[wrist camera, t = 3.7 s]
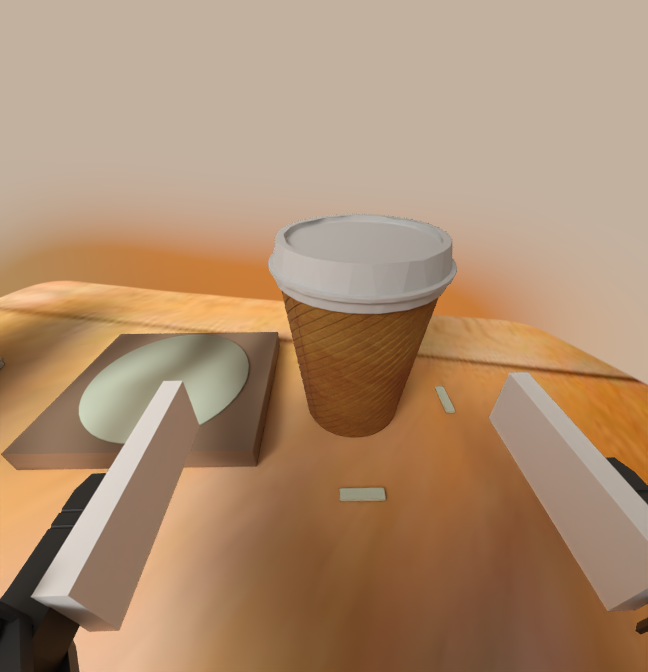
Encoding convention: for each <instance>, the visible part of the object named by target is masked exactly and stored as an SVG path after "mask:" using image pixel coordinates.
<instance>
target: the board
mask: <svg viewBox="0 0 648 672" xmlns="http://www.w3.org/2000/svg"><path fill="white" fill-rule="evenodd" d="M278 351H279V337H278V332H252V333H176V334H121V335H120V336H119V337H118V338H117V339H116V340H115V341H114V342H113V343H112V344H111V345H110V346H109V347H108V348H107V349H106V350H105V351H104V352H103V353H102V354H101V355H100V356H99V357H98V358H97V359H96V360H95V361H94V362H93V363H92V364H91V365H90V366H89V367H88V368H87V369H86V370H85V371H84V372H83V373H82V374H81V375H80V376H79V377H78V378H77V379H76V380H75V381H74V382H73V383H72V384H71V385H70V386H69V387H68V388H67V389H66V390H65V391H64V392H63V393H62V394H61V395H60V396H59V397H58V398H57V399H56V400H55V401H54V402H53V403H52V404H51V405H50V406H49V407H48V408H47V409H46V410H45V411H44V412H43V413H42V414H41V415H40V416H39V417H38V418H37V419H36V420H35V421H34V422H33V423H32V424H31V425H30V426H29V427H28V428H27V429H26V430H25V431H24V432H23V433H22V434H21V435H20V436H19V437H18V438H17V439H16V440H15V441H14V442H13V443H12V444H11V445H10V446H9V447H8V448H7V449H6V450H5V451H4V452H3V453H2V454H1V455H2V456H3V457H4V458H5V459H6V460H7V461H8V462H9V463H10V464H11V465H12V466H13V467H14V468H16V469H17V470H37V469H102V468H110V467H111V465H112V464H113V462H114V461H115V459H116V457H117V456H118V454H119V452H120V451H121V449H122V448H123V446H124V444H125V443H126V441H127V439H128V438H129V436H130V435H131V433H132V431H133V430H134V428H135V426H136V425H137V423H138V421H139V420H140V418H141V417H142V415H143V413H144V412H145V410H146V408H147V407H148V405H149V404H150V402H151V400H152V399H153V397H154V395H155V394H156V392H157V391H158V389H159V387H160V386H161V384H162V382H163V381H183V382H184V385H185V388H186V391H187V393H188V396H189V399H190V401H191V404H192V407H193V409H194V412H195V415H196V418H197V420H198V423H199V426H200V427H199V429H198V432H197V434H196V437H195V439H194V442H193V444H192V447H191V449H190V452H189V455H188V457H187V460H186V462H185V465H184V467H234V466H257V460H258V455H259V450H260V445H261V440H262V434H263V429H264V424H265V419H266V413H267V408H268V403H269V398H270V393H271V387H272V382H273V377H274V372H275V366H276V361H277V356H278Z"/></svg>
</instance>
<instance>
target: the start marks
mask: <svg viewBox="0 0 648 672" xmlns="http://www.w3.org/2000/svg"><path fill="white" fill-rule="evenodd" d="M435 390H436V392H437V394H438V396H439V398H440V401H441V403H442V405H443V407H444V410H445V412H446V413H455V409H454V407H453V405H452V403H451V401H450V399H449V397H448V395H447V393H446V391H445V389H444V387H443V386H435ZM385 500H386V497H385V492H384V488H340V501H385Z"/></svg>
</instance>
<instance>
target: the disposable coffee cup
mask: <svg viewBox="0 0 648 672" xmlns="http://www.w3.org/2000/svg"><path fill="white" fill-rule="evenodd" d="M268 267H269V271H270V273H271V274H272V276H273V277H274V278H275V281H276V282H277V285H278V287H279V288H280V289H281V290H282V294H283V298H284V303H285V309H286V312H287V315H288V316H287V317H288V321H289V324H290V329H291V333H292V338H293V341H294V346H295V351H296V355H297V357H298V364H299V365H300V366H299V368H300V371H301V376H302V379H303V380H302V381H303V384H304V389H305V392H306V393H305V394H306V398H307V402H308V407H309V411H310V413H311V415H312V417H313V418H314V420H315V421H316V422H317V423H318V424H319V425H320V426H321V427H323V428H324V429H326V430H327V431H330V432H332V433H334V434H337V435H341V436H345V437H362V436H368V435H372V434H374V433H376V432H378V431H380V430H382V429H383V428H385V427H386V426H387V425H388V424H389V423H390V421H391V420H392V418H393V416H394V414H395V410H396V408H397V405H398V402H399V400H400V397H401V394H402V392H403V389H404V387H405V384H406V381H407V379H408V376H409V374H410V371H411V368H412V366H413V363H414V360H415V358H416V355H417V352H418V350H419V347H420V344H421V342H422V339H423V337H424V334H425V332H426V329H427V326H428V324H429V321H430V319H431V316H432V313H433V311H434V308H435V306H436V303H437V300H438V297H439V296H441V294H442V293H443V292H444V290H445V289H446V287H447V286H448V285H449V284H450V283H451V282H452V280H453V278H454V276H455V275H456V272H457V266H456V263H455V261H454V260H453V258H452V239H451V237H450V235H449V234H448V233H447V232H445V231H443V230H442V229H440V228H439V227H436V226H433V225H431V224H428V223H424V222H421V221H417V220H413V219H407V218H400V217H394V216H383V215H370V214H368V215H367V214H348V215H347V214H346V215H333V216H322V217H315V218H310V219H305V220H301V221H297V222H294V223H291V224H289V225H287V226H285V227H284V228H282V229H281V230H279V231H278V232H277V235H276V237H275V246H274V253H273V254H272V255H271V257H270V258H269V264H268Z"/></svg>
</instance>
